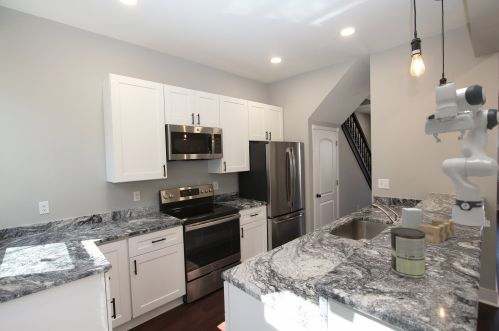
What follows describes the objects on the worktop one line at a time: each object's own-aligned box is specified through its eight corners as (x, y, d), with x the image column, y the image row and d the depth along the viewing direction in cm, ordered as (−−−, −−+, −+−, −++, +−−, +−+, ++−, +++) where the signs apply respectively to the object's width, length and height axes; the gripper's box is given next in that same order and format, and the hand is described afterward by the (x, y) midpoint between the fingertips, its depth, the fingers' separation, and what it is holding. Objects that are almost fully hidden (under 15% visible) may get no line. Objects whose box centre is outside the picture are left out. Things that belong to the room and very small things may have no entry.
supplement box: (423, 234, 129) (422, 210, 129) (407, 234, 131) (406, 210, 130) (416, 231, 136) (416, 207, 136) (401, 230, 138) (401, 207, 138)
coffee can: (384, 267, 91) (383, 228, 91) (407, 264, 94) (406, 226, 94) (409, 280, 81) (408, 236, 81) (433, 275, 84) (433, 233, 84)
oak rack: (435, 231, 134) (434, 218, 134) (453, 235, 127) (453, 221, 127) (418, 239, 122) (418, 225, 121) (438, 243, 115) (438, 228, 115)
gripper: (475, 110, 123) (477, 138, 123) (427, 118, 140) (429, 143, 140) (470, 109, 119) (473, 138, 119) (422, 117, 136) (424, 143, 136)
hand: (449, 141), depth 130 cm, fingers open, 8 cm apart
